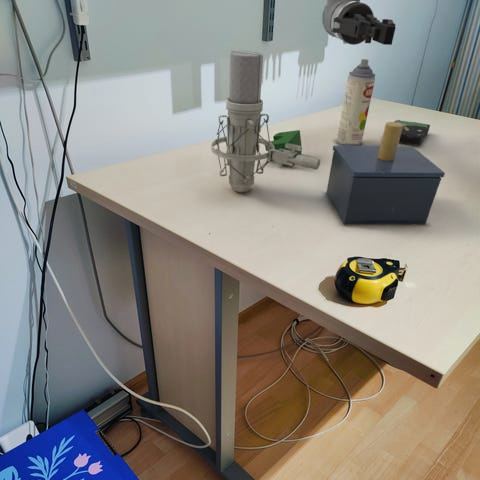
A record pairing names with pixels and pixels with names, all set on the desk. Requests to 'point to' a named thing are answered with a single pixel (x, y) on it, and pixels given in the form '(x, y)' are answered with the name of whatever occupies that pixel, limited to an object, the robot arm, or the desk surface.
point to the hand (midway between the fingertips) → (389, 35)
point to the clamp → (286, 141)
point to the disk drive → (413, 132)
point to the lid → (387, 158)
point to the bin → (380, 197)
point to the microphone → (250, 125)
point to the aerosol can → (356, 105)
